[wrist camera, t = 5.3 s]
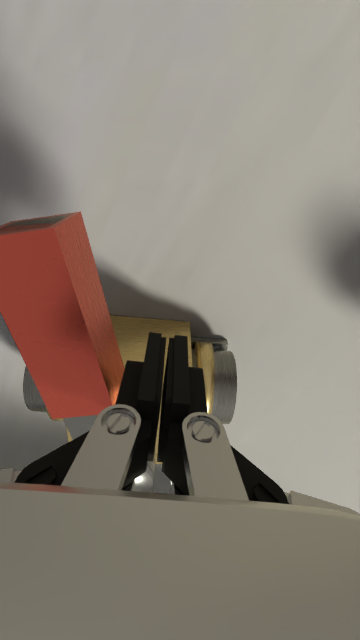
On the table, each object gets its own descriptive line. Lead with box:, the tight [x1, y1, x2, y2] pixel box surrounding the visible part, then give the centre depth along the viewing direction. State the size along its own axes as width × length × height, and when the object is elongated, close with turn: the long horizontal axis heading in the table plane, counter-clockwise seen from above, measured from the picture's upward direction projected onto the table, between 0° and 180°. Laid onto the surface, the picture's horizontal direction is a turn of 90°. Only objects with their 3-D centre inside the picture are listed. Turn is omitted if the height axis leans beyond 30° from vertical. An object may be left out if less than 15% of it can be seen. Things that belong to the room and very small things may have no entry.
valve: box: [23, 315, 237, 464], centre depth 20 cm, size 13×7×8 cm, turn 85°
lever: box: [0, 212, 156, 493], centre depth 13 cm, size 4×14×2 cm, turn 7°
